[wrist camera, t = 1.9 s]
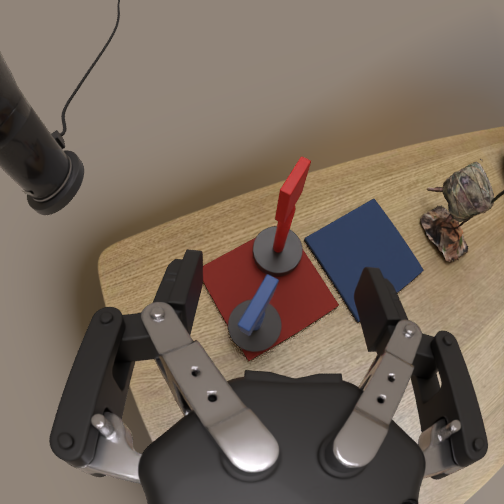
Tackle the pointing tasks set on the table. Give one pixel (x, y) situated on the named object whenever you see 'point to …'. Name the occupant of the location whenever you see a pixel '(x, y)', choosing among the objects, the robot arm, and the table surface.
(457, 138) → the table surface
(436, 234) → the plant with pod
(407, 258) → the blue mat
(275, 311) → the blue signpost
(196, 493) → the robot arm
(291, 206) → the red paddle on stand
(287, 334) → the red mat
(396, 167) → the table surface
